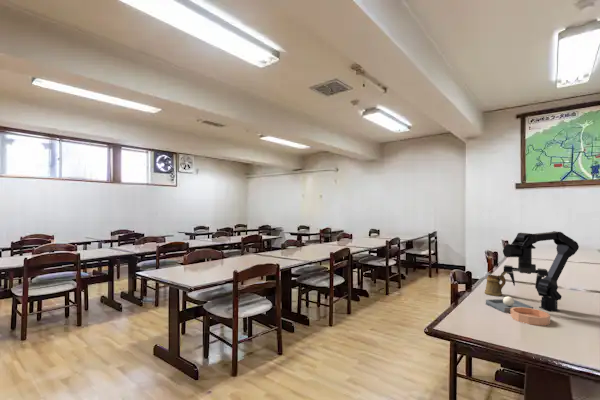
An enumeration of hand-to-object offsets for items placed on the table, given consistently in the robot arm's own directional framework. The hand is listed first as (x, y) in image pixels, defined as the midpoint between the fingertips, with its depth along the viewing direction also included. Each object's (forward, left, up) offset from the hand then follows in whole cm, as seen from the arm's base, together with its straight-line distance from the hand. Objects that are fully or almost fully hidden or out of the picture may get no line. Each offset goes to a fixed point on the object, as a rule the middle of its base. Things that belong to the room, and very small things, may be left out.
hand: (524, 287), depth 168 cm
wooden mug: (-6, -28, -12) cm, 31 cm away
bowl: (+9, +13, -12) cm, 20 cm away
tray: (+6, -4, -12) cm, 14 cm away
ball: (+6, -4, -8) cm, 11 cm away
